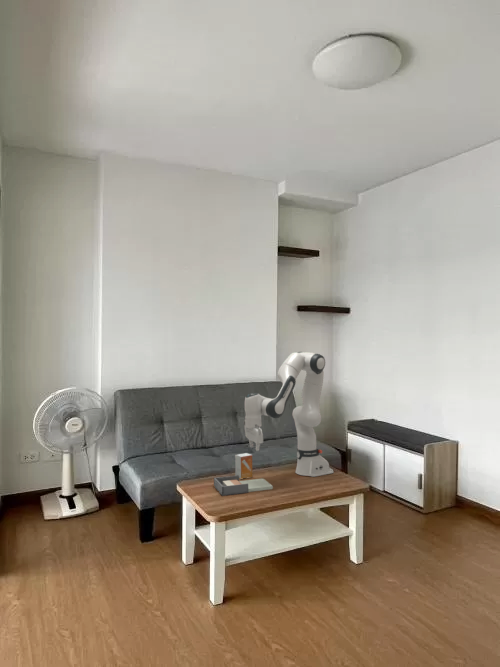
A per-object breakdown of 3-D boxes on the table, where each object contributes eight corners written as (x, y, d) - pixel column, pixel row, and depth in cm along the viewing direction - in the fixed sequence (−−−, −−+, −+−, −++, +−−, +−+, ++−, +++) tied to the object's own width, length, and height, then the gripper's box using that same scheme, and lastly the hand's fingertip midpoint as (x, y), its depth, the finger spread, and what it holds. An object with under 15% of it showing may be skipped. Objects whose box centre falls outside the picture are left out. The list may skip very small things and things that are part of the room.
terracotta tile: (236, 484, 256) (236, 479, 256) (243, 490, 245) (243, 485, 245) (229, 484, 255) (229, 480, 255) (236, 491, 244) (236, 486, 244)
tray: (238, 483, 260) (238, 475, 260) (248, 492, 243) (248, 483, 243) (213, 486, 255) (213, 477, 255) (222, 496, 239) (222, 486, 239)
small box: (241, 479, 267) (240, 456, 267) (235, 477, 272) (234, 454, 272) (252, 477, 271) (252, 454, 271) (246, 474, 276) (246, 452, 277)
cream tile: (229, 484, 255) (229, 480, 255) (236, 491, 244) (236, 486, 244) (222, 485, 254) (222, 481, 254) (228, 492, 243) (228, 487, 243)
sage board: (263, 481, 263) (262, 478, 263) (272, 489, 249) (272, 485, 249) (239, 484, 258) (239, 481, 258) (247, 492, 244) (247, 488, 244)
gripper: (265, 425, 245) (266, 452, 245) (252, 420, 265) (254, 444, 265) (254, 427, 243) (255, 453, 243) (242, 421, 263) (243, 445, 263)
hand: (254, 448), depth 254 cm, fingers open, 8 cm apart
